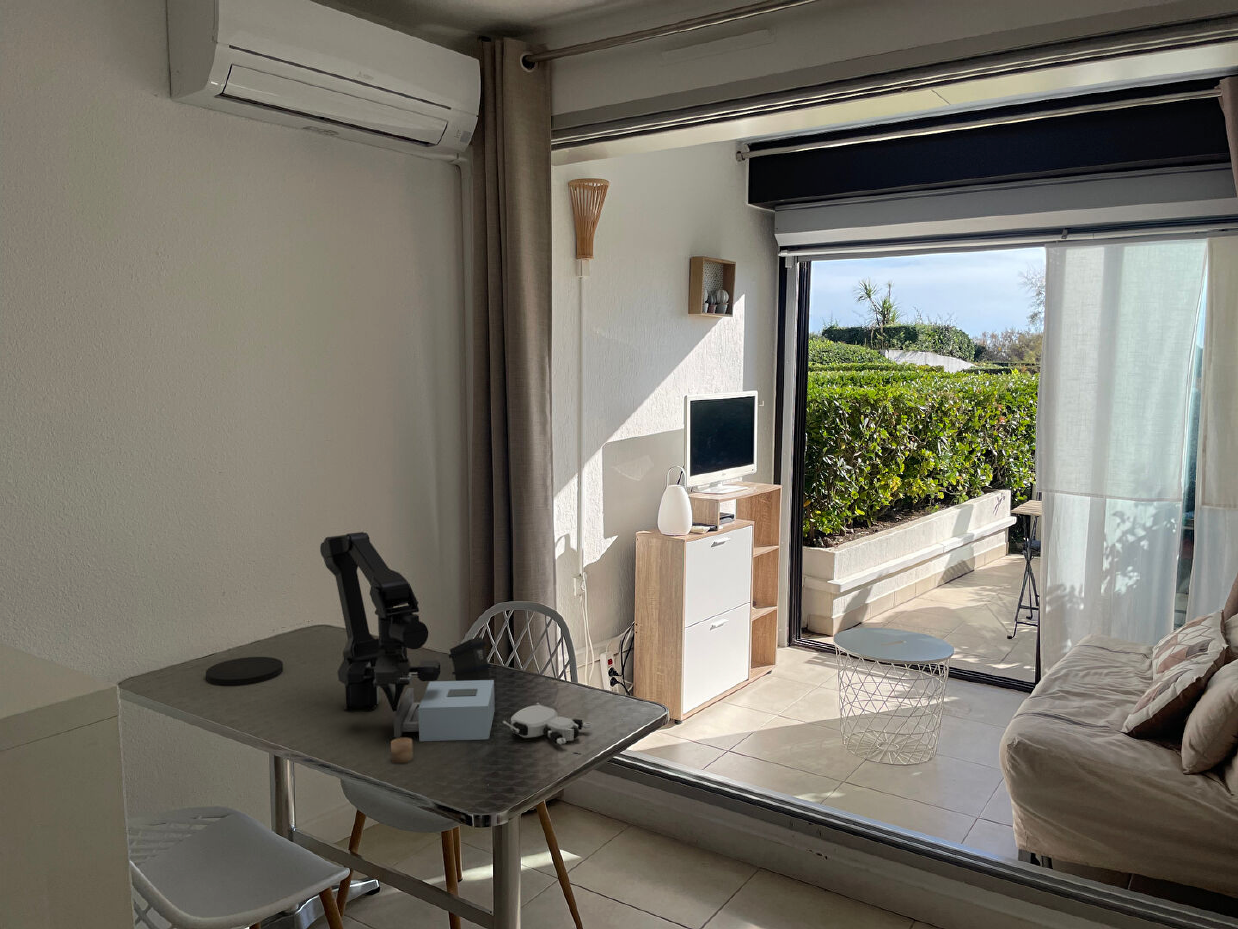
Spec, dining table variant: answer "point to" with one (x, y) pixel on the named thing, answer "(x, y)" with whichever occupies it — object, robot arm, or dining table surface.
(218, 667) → the wireless charger
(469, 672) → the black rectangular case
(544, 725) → the robot toy
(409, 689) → the tray
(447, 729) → the box
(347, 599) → the robot arm
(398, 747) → the tan short cylinder
